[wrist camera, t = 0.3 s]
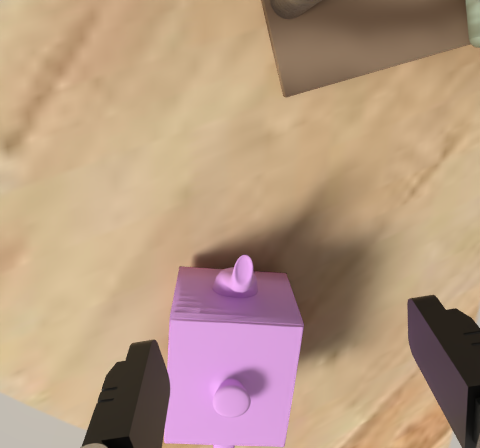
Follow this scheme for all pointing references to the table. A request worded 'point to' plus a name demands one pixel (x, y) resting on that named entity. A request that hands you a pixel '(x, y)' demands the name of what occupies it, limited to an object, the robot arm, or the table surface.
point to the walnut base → (365, 37)
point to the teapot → (232, 356)
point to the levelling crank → (292, 7)
